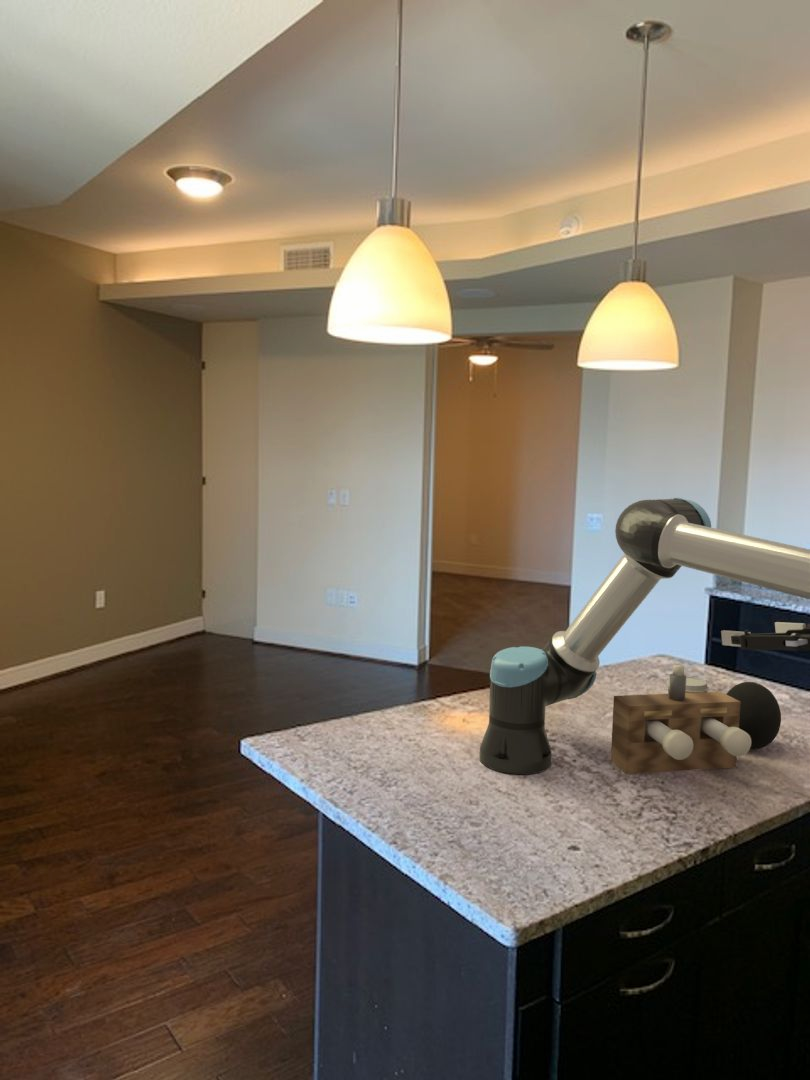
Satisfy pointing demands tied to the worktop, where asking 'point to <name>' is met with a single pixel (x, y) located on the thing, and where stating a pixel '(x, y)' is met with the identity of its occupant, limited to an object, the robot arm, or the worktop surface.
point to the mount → (646, 754)
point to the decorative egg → (757, 713)
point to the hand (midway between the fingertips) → (750, 633)
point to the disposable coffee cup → (693, 685)
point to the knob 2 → (727, 736)
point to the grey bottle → (677, 684)
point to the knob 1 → (670, 739)
